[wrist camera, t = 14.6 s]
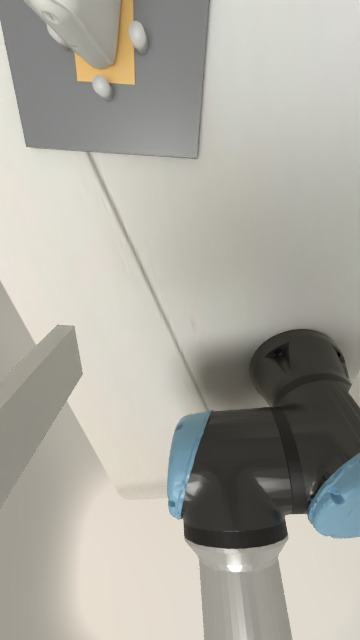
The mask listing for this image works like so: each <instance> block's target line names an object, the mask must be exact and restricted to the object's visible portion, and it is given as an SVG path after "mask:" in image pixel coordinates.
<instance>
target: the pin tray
mask: <svg viewBox="0 0 360 640" xmlns="http://www.w3.org/2000/svg"><path fill="white" fill-rule="evenodd" d="M208 8H209V0H121V5H120V19H119V30H118V42H117V51H116V57H115V61H114V65H113V66H112V65H110V66H109V67H108V68H105V69H96V68H94V67H92V66H90V65H89V64H88V63H87V62H86V61H85V60H84V59H83V58H82V57H81V56H78V55H77V54H76V53H75V52H74V51H73V50H72V49H71V48H70V47H69V46H68V45H67V44H66V43H65V42H64V41H63V40H62V39H61V38H60V37H59V36H58V35H57V34H56V33H55V32H54V31H53V30H52V28H51V27H50V26H49V25H48V24H47V23H46V22H45V21H44V20H43V19H42V18H41V17H40V16H39V15H38V14H37V13H36V12H35V11H34V10H33V9H32V8H31V7H30V6H29V5H28V4H27V3H26V2H25V1H24V0H0V21H1V26H2V31H3V36H4V40H5V45H6V50H7V55H8V60H9V65H10V70H11V75H12V79H13V84H14V89H15V94H16V99H17V104H18V109H19V114H20V118H21V123H22V128H23V133H24V138H25V143H26V147H31V148H43V149H58V150H73V151H88V152H103V153H118V154H134V155H149V156H164V157H179V158H194V159H197V151H198V138H199V125H200V112H201V99H202V86H203V73H204V60H205V47H206V34H207V21H208Z"/></svg>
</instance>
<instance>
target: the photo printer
mask: <svg viewBox="0 0 360 640" xmlns="http://www.w3.org/2000/svg"><path fill="white" fill-rule="evenodd" d="M24 1H25V2H26V3H27V4H28V5H29V6H30V7H31V8H32V9H33V10H34V11H35V12H36V13H37V14H38V15H39V16H40V17H41V18H42V19H43V20H44V21H45V22H46V23H47V24H48V25H49V26H50V27H51V28H52V30H53V31H54V32H55V33H56V34H57V35H58V36H59V37H60V38H61V39H62V40H63V41H64V42H65V43H66V44H67V45H68V46H69V47H70V48H71V49H72V50H73V51H74V52H75V53H76V54H77V55H78V56H81V57H82V58H83V59H84V60H85V61H86V62H87V63H88V64H89V65H90V66H92V67H94V68H96V69H105V68H108V67H109V66H110V65H112V66H113V65H114V61H115V57H116V51H117V42H118V30H119V19H120V5H121V0H24Z"/></svg>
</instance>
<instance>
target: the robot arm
mask: <svg viewBox="0 0 360 640" xmlns="http://www.w3.org/2000/svg"><path fill="white" fill-rule="evenodd" d="M250 373H251V377H252V380H253V383H254V386H255V388H256V389H257V391H258V392H259V393H260V394H261V395H262V397H263V398H264V399H265V400H266V402H267V403H268V404H269V405H270V407H264V408H252V409H240V410H228V411H215V412H213V410H209V411H208V412H204V413H196V414H189V415H186V416H184V417H183V418H182V419H181V420H180V421H179V422H178V424H177V426H176V429H175V432H174V435H173V439H172V444H171V450H170V457H169V466H168V482H167V495H168V499H169V501H168V506H169V511H170V514H171V515H172V516H173V517H176V518H177V519H182V518H183V520H184V536H185V541H186V542H187V543H188V545H189V546H190V547H191V548H192V549H193V551H194V552H195V553H196V554H197V555H198V558H199V564H200V580H201V595H202V609H203V623H204V640H292V635H291V629H290V624H289V618H288V613H287V607H286V602H285V595H284V590H283V585H282V579H281V573H280V568H279V562H278V555H279V553H280V551H281V550H282V548H283V546H284V545H285V543H286V542H287V540H288V533H287V527H286V522H285V515H288V514H307V515H308V519H309V521H310V523H311V524H312V525H313V526H314V528H315V529H316V530H317V531H318V532H319V533H320V534H322V535H324V536H331V537H333V538H354V537H360V369H359V371H358V373H357V375H356V377H355V379H354V381H353V383H352V384H351V383H350V380H349V376H348V372H347V368H346V364H345V360H344V357H343V355H342V353H341V351H340V350H339V348H338V347H337V346H336V345H335V344H334V342H333V341H332V340H331V339H330V338H328V337H327V336H325V335H324V334H322V333H319V332H316V331H311V330H293V331H288V332H284V333H281V334H279V335H276V336H274V337H272V338H271V339H269V340H268V341H266V342H265V343H264V344H263V345H261V346H260V348H259V349H258V350H257V351H256V353H255V354H254V356H253V358H252V361H251V365H250ZM82 374H83V373H82V367H81V361H80V356H79V350H78V344H77V338H76V333H75V327H74V326H68V325H57V326H56V327H55V328H54V329H53V330H52V331H51V332H50V333H49V334H48V335H47V336H46V337H45V338H44V339H43V340H42V341H41V342H40V343H39V344H37V345H36V346H35V347H34V348H33V349H32V350H31V351H30V352H29V353H28V355H27V356H25V357H24V358H23V359H22V360H21V361H20V362H19V363H18V364H17V365H16V366H15V367H14V368H13V369H12V370H11V371H10V372H9V373H8V374H7V375H6V376H5V377H4V378H3V379H2V380H1V381H0V508H1V506H2V505H3V503H4V501H5V500H6V498H7V497H8V495H9V493H10V492H11V490H12V488H13V487H14V485H15V484H16V482H17V480H18V478H19V477H20V475H21V474H22V472H23V471H24V469H25V467H26V466H27V464H28V462H29V461H30V459H31V457H32V456H33V454H34V452H35V451H36V449H37V448H38V446H39V444H40V443H41V441H42V440H43V438H44V436H45V435H46V433H47V431H48V429H49V428H50V426H51V425H52V423H53V422H54V420H55V418H56V417H57V415H58V413H59V412H60V410H61V409H62V407H63V405H64V404H65V402H66V400H67V399H68V397H69V395H70V394H71V392H72V391H73V389H74V387H75V386H76V384H77V382H78V381H79V379H80V378H81V376H82Z"/></svg>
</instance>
